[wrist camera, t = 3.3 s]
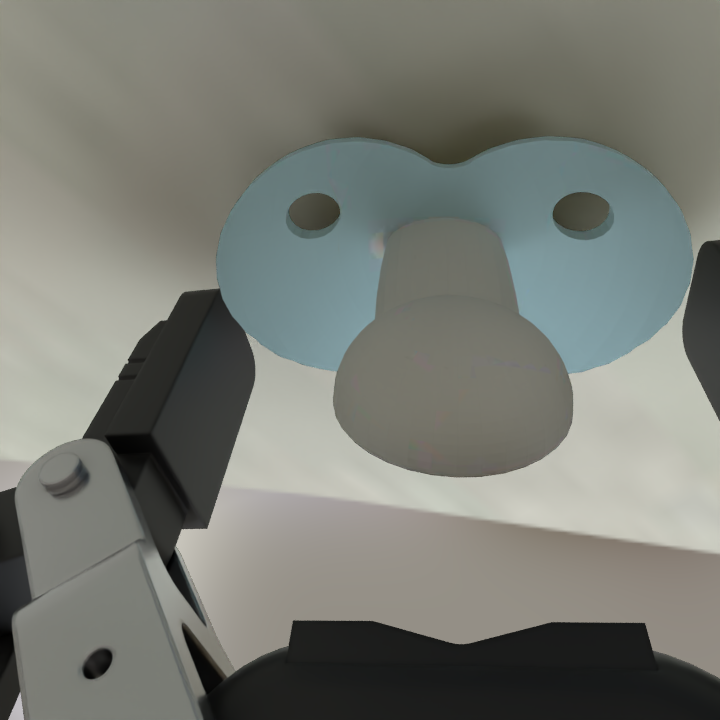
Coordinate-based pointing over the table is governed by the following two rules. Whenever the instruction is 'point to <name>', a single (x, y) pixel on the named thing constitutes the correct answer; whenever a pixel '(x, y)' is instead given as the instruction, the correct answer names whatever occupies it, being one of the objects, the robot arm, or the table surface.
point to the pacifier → (454, 289)
